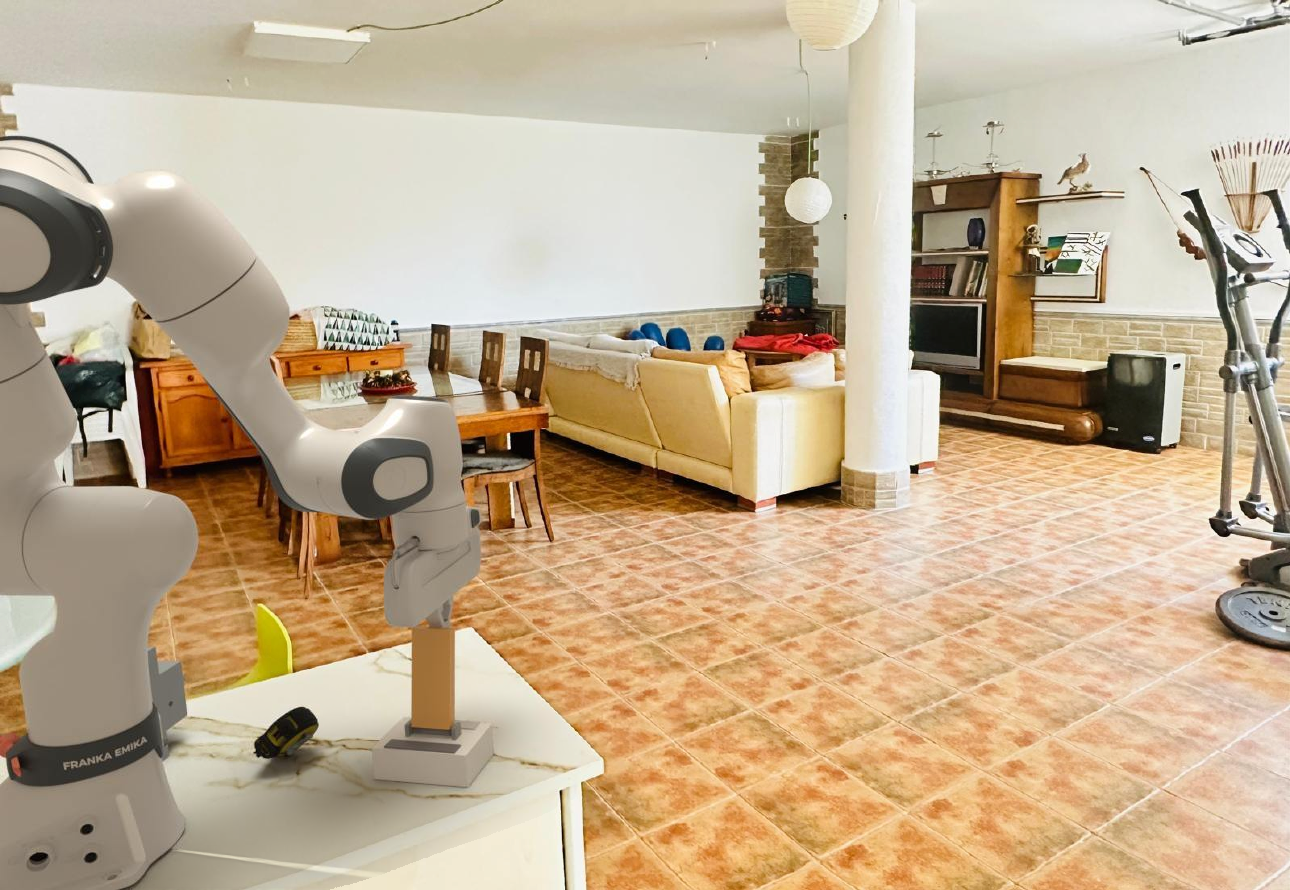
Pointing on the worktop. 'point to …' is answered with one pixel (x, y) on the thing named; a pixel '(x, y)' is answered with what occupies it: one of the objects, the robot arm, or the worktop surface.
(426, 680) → the lever
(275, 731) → the tape measure
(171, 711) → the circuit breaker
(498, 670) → the worktop surface
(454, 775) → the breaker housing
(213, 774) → the worktop surface
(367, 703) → the worktop surface
